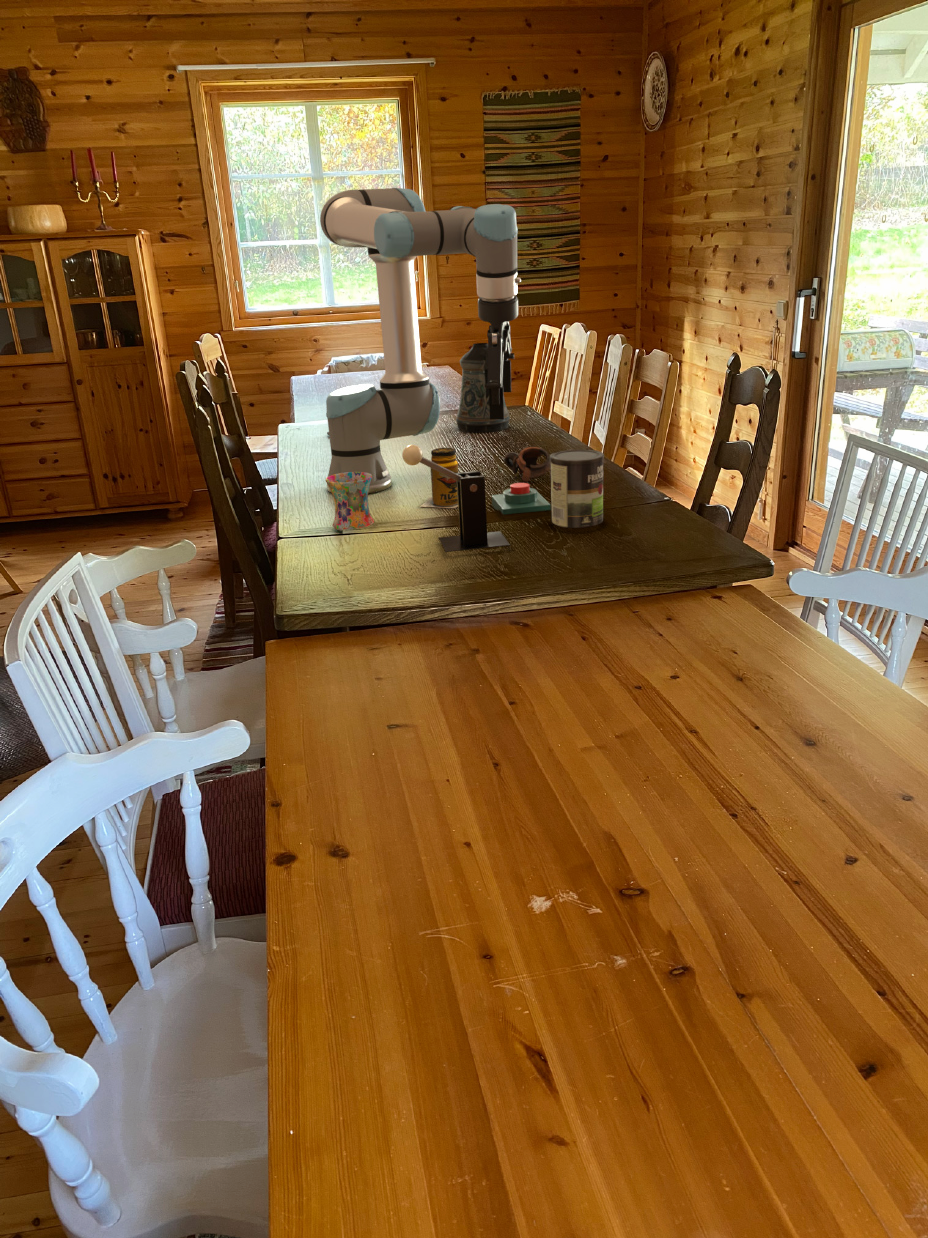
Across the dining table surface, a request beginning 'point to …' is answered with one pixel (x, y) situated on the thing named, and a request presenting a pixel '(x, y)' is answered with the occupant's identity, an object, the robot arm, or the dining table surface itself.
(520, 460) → the pottery mug
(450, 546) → the bracket
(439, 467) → the lever
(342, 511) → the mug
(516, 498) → the button box
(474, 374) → the grey ceramic pitcher
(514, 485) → the button
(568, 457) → the coffee can
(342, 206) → the robot arm
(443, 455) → the condiment
